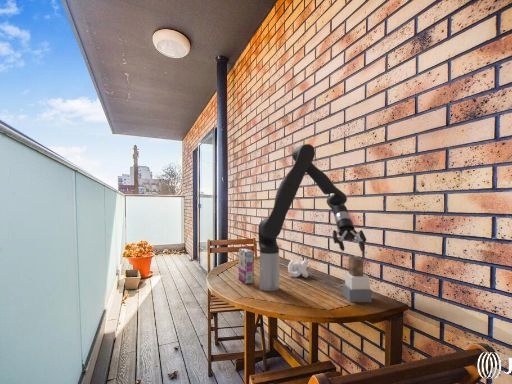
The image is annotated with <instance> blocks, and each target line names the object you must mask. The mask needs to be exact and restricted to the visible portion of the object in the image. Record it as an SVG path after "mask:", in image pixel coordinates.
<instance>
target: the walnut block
mask: <svg viewBox="0 0 512 384" xmlns="http://www.w3.org/2000/svg"><path fill="white" fill-rule="evenodd" d="M348 273H349V274H350V275H352V276H363V274H364V259H362V258H361V257H355V256H354V257H348Z"/></svg>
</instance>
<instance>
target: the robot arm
mask: <svg viewBox="0 0 512 384" xmlns="http://www.w3.org/2000/svg"><path fill="white" fill-rule="evenodd" d="M315 157H316V150H315V147H314V146H313V145H312V144H309V143H305V144H302V145H300V146H297V147H295V148H294V149H293V150H292V160H293V161H294V164H293V166H292V167H291V169H290V170H289V171H288V172H287V173H286V175H285V176H284V178H282V180H281V182H280V184H279V186H278V188H277V191H276V194H275V199H274V203H273V204H274V205H273V208H272V210H271V212H270V214H269V217H268V218H265V219H262V220H261V221H260V222H259V224H258V229H257V230H258V236H257V237H258V246H259V290H260V291H263V292H264V291H265V292H275V291H278V290H279V289H280V246H279V245H278V242H277V237H279V235H280V234H281V231H282V229H283V226H284V223H285V219H286V217H287V214H288V212H289V210H290V208H291V206H292V203H293V202H294V199H295V197H296V195H297V193H298V190H299V189H300V186H301V184H302V181H303V179H304V176H305V174H307V175H308V176H309V177H310V178H311V179H312V180H313V182H314V183H315V184H316V185H317V187H318V188H319V189H320V191H321V192H322V193H323V194H324V195H329V196H328V197H327V198H326V204H327V205H328V207H329V208H330V209H331V210H332V213H333V216H334V221H335V225H336V228H337V231H336V230H335V229H334V230H333V231H332V238H333V239H332V240H333V243H334V244H338V246H339V249H340V250H341V252H344V251H345V244H344V241H353V242H354V243H357V244H358V247H359V250H360V251H361V252H364V251H365V245H364V244H366V242H367V238H366V235H365V233H364V231H363V230H362V229H361V230H359V231H357V230H356V229H355V225H354V222H353V221H352V220H353V219H352V217H351V215H350V213H349V211H348V208H347V207H346V205H345V203H347V201H348V198H347V195H346V194H345V193H344V192H343V191H342V190H341V189H339V188H338V187H336V185H335V184H334V183H333V182H332V180H331V179H330V178H329V177H328V175H327V174H326V173H325V172H324V171H322V170H321V169H319V168H318V167H317V166H316V165H315V164H314V163H313V160H314V159H315ZM330 194H332V195H330ZM338 236H339V237H340V238H339V239H338Z"/></svg>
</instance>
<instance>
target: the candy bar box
mask: <svg viewBox="0 0 512 384" xmlns="http://www.w3.org/2000/svg"><path fill="white" fill-rule="evenodd" d="M254 259H255V253H254V251H253V250H251V249H249V248H239V249H238V280H239V281H240V282H242V283H243V284H244V285H251V284H254V277H255V276H254V272H255V271H254V265H255V263H254V262H255V261H254Z"/></svg>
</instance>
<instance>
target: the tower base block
mask: <svg viewBox="0 0 512 384" xmlns="http://www.w3.org/2000/svg"><path fill="white" fill-rule="evenodd" d="M372 294H373V291H372V289H371V288H370V289H351V288H350V287H348V286H347V285H346V284H345V283H342V296H343V297H345V298H346V299H347V300H348V302H349V303H372V302H373V297H372V296H373V295H372Z"/></svg>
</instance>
